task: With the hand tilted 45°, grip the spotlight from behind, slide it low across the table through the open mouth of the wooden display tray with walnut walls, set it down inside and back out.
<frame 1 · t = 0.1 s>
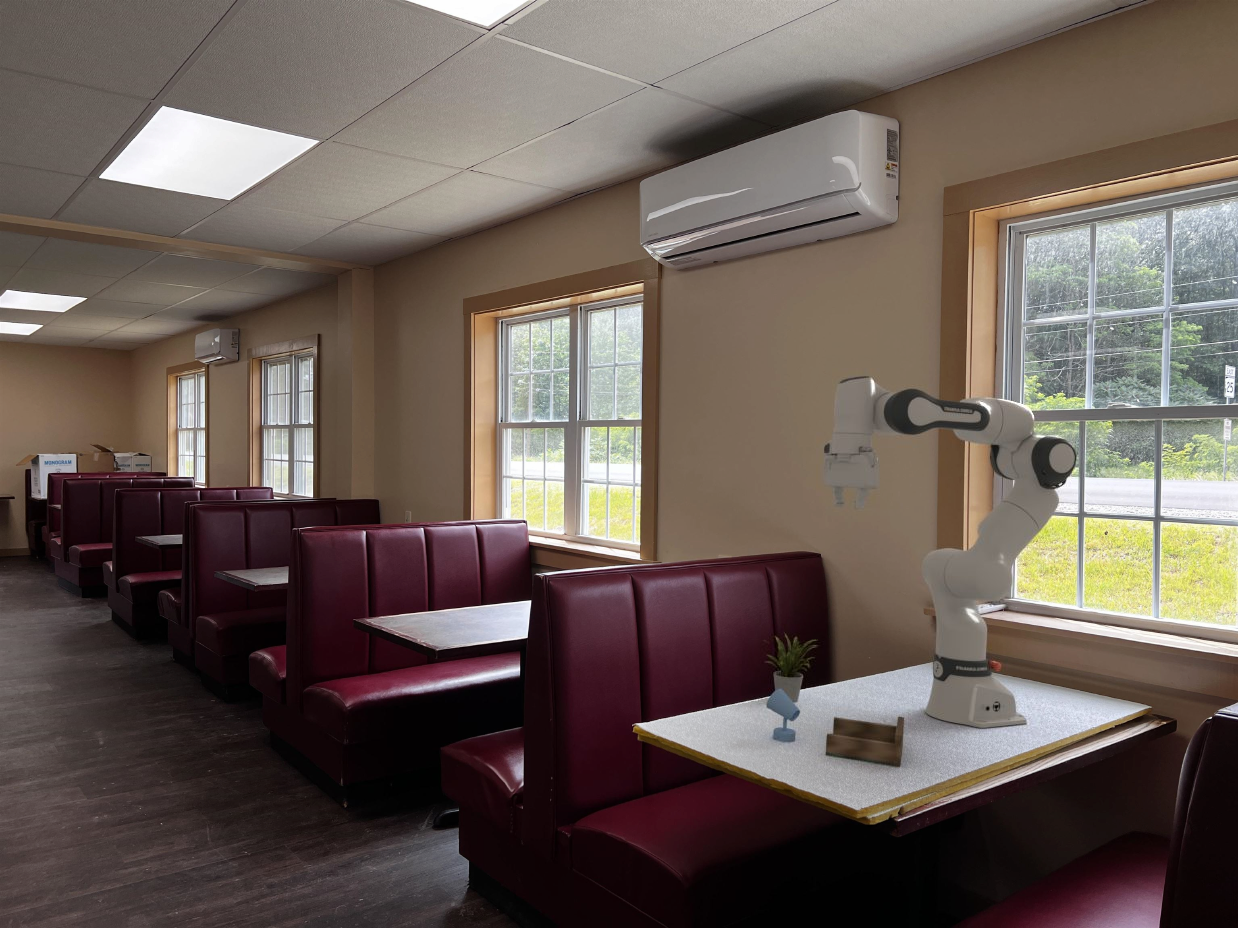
hand: (848, 507, 199), 48 cm above the table, fingers open, 8 cm apart
house plant: (792, 701, 212), on the table
spotlight: (782, 738, 182), on the table
wooden display tray: (865, 750, 176), on the table
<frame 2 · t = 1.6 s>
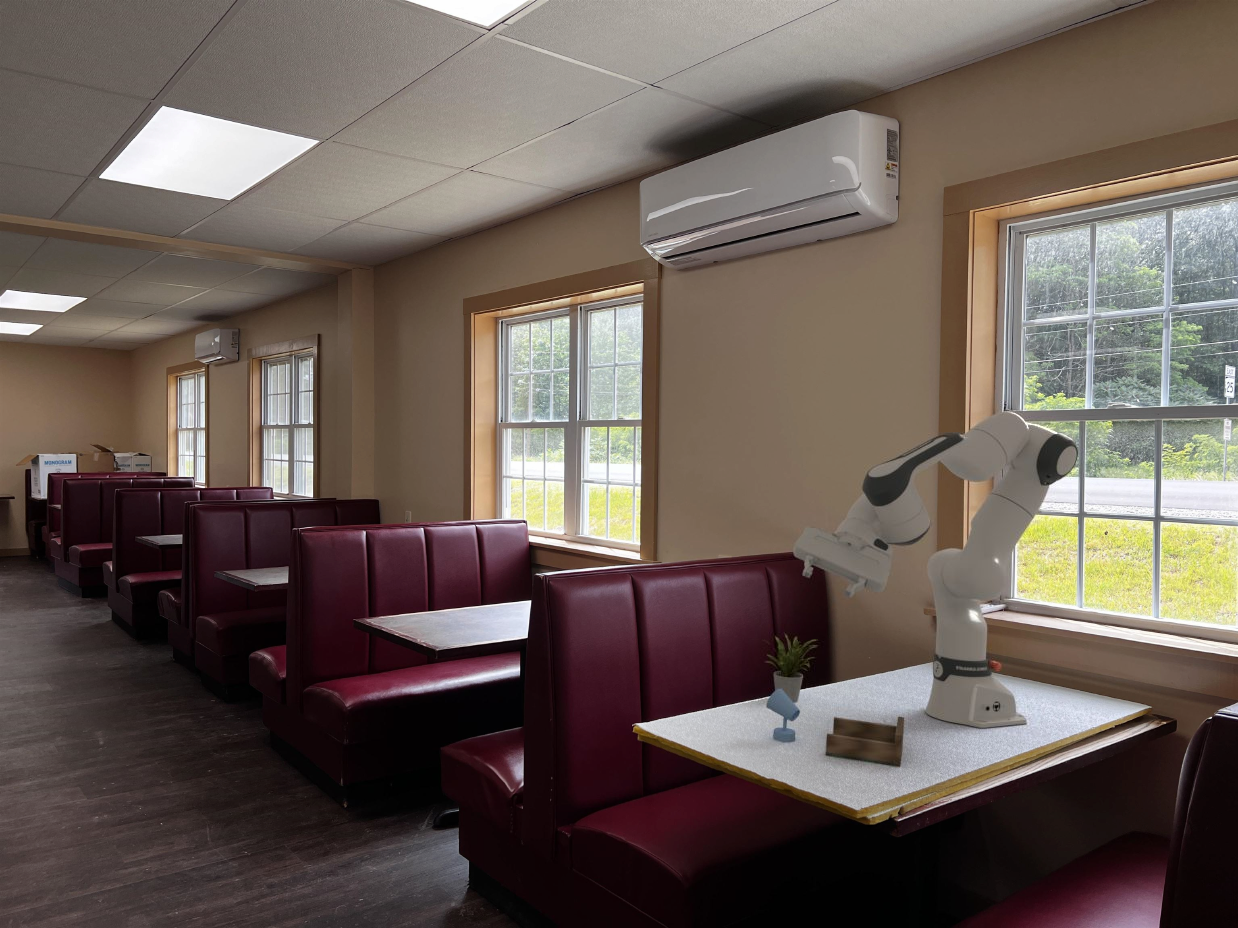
hand: (826, 584, 180), 33 cm above the table, fingers open, 8 cm apart
nothing on the table moved.
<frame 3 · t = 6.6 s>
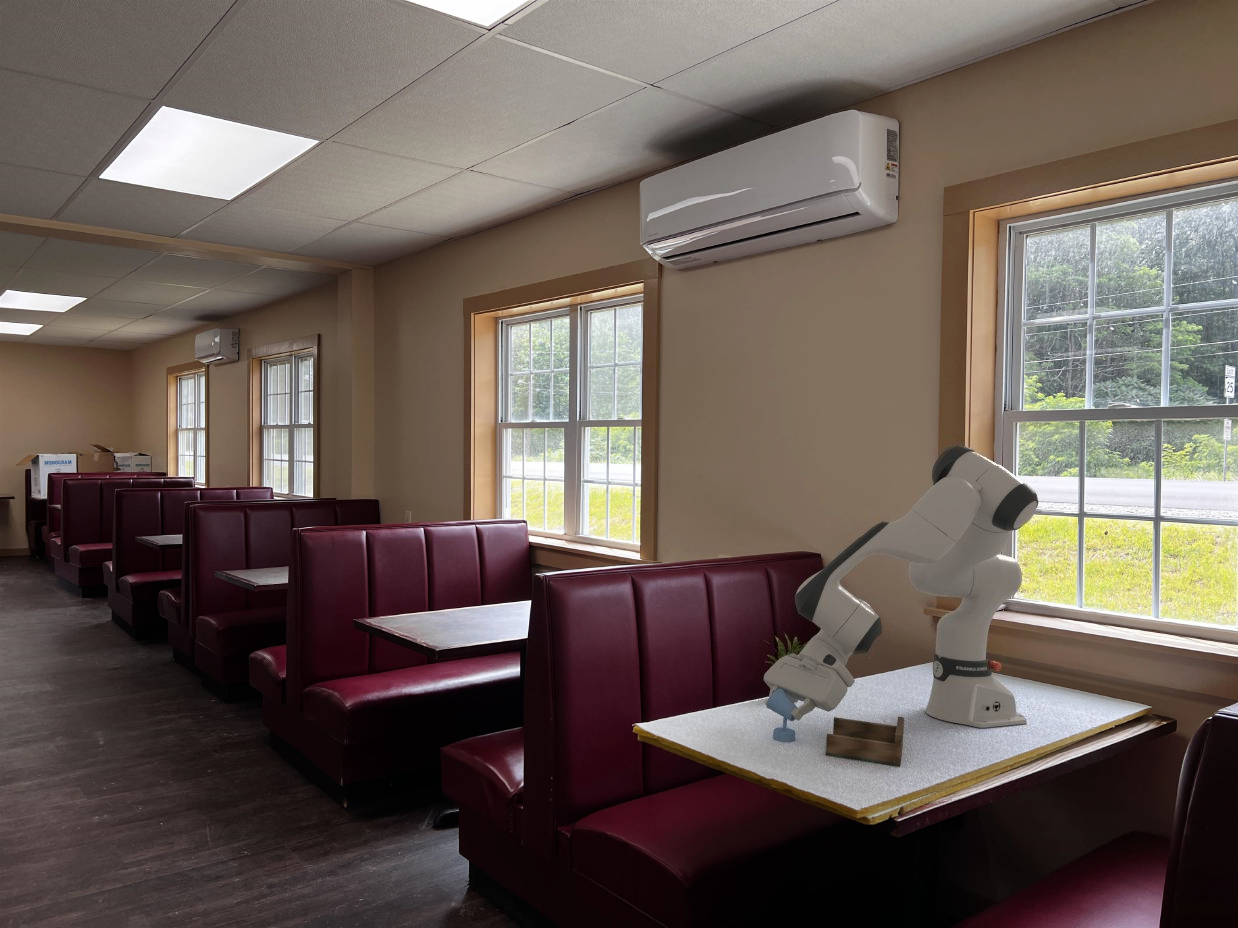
hand: (781, 712, 181), 5 cm above the table, fingers closed on spotlight, 7 cm apart
spotlight: (782, 738, 182), on the table, touching gripper
everything else where it was.
when the fingers open (7 cm above the table, at t = 11.6 s): spotlight stays where it is, resting on wooden display tray.
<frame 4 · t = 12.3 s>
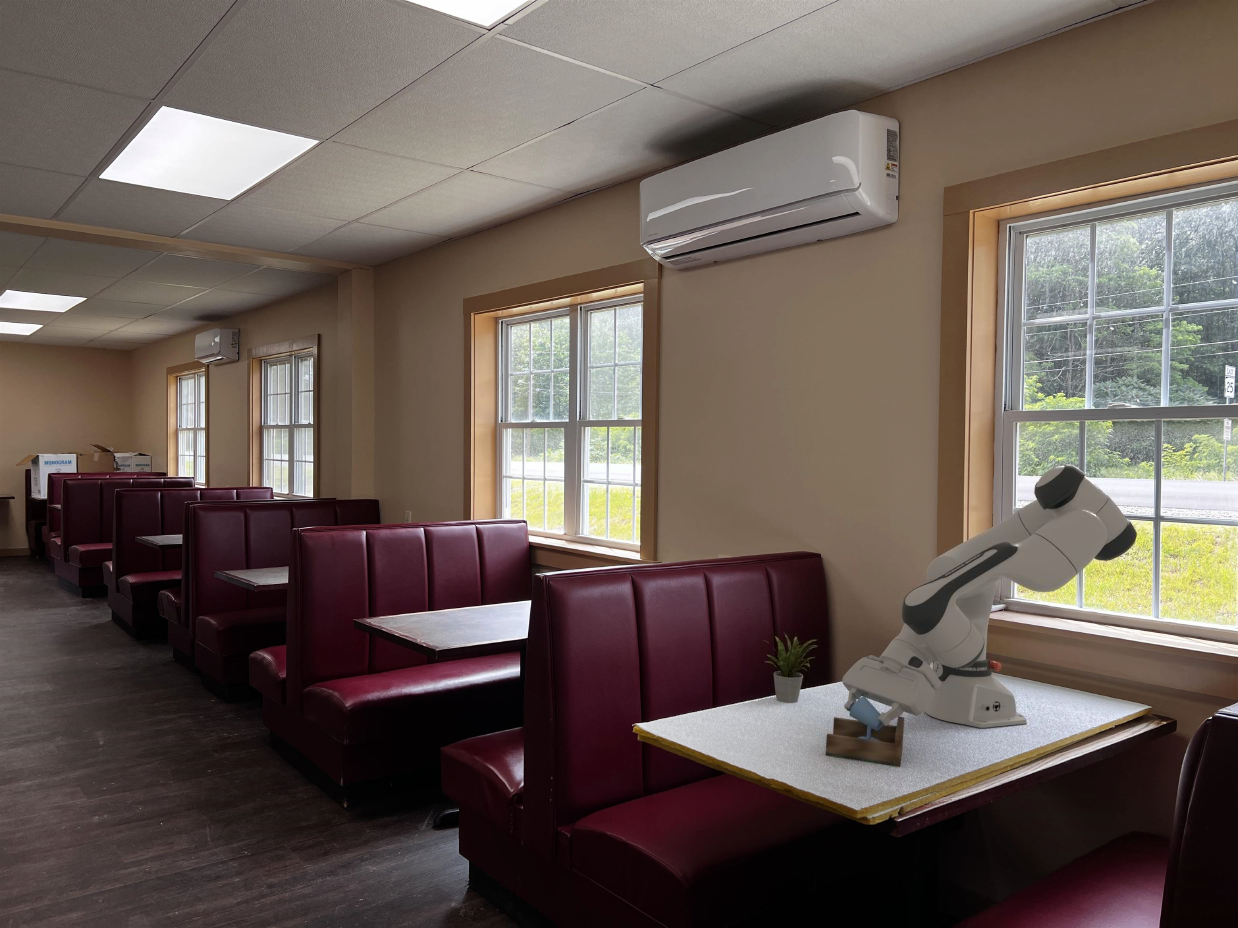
hand: (864, 716, 176), 7 cm above the table, fingers open, 8 cm apart
spotlight: (866, 748, 176), resting on wooden display tray
everything else where it was.
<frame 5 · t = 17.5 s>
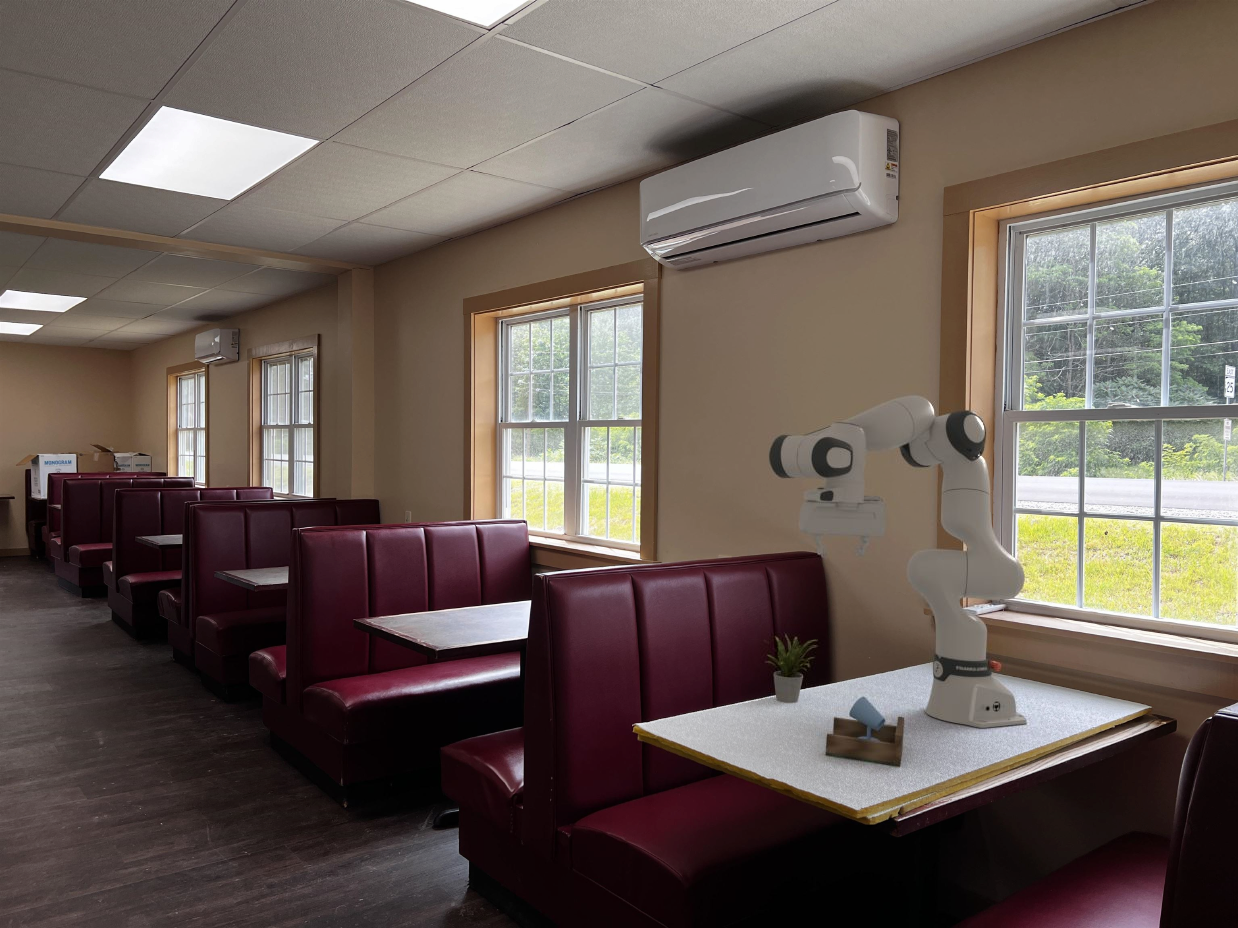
hand: (840, 555, 199), 37 cm above the table, fingers open, 8 cm apart
nothing on the table moved.
at the end: spotlight inside the target area on the wooden display tray (0.2 cm from its centre), point 0.4 cm above the wooden display tray's base; spotlight tilted 0°; the gripper is holding nothing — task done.
